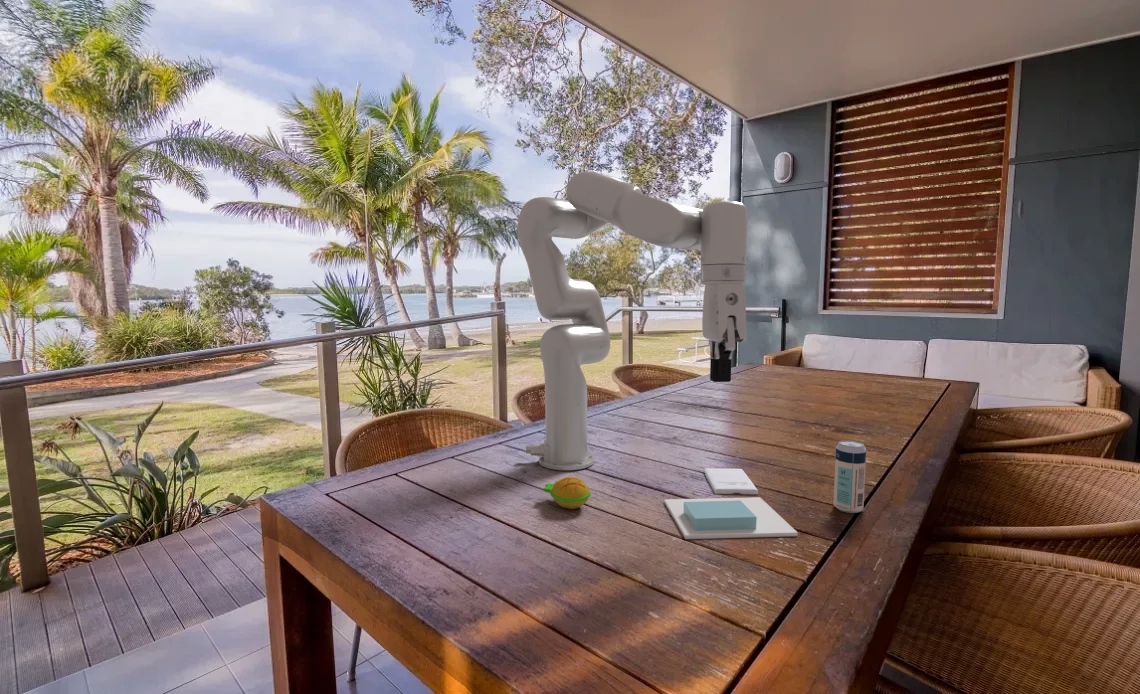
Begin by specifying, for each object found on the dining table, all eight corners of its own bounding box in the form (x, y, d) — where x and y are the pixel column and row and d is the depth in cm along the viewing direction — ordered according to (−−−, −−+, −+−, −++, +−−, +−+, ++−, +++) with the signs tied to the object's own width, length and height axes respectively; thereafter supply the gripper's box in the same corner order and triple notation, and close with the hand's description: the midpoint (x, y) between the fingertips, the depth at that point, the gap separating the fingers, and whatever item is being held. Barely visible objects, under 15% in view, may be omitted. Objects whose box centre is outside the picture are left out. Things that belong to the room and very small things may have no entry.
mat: (685, 539, 85) (685, 535, 85) (664, 502, 100) (664, 499, 100) (797, 536, 86) (797, 532, 86) (759, 500, 101) (759, 497, 101)
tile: (683, 513, 94) (695, 530, 87) (683, 501, 93) (695, 518, 86) (740, 511, 94) (756, 528, 87) (740, 500, 94) (756, 516, 87)
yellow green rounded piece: (568, 518, 93) (568, 488, 92) (536, 501, 101) (535, 473, 100) (598, 509, 97) (598, 480, 97) (565, 492, 105) (565, 466, 105)
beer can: (860, 505, 98) (864, 441, 97) (865, 516, 93) (869, 448, 92) (831, 502, 100) (834, 438, 98) (835, 512, 95) (838, 445, 94)
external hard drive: (742, 476, 116) (758, 497, 104) (703, 475, 117) (714, 496, 104) (742, 468, 116) (758, 488, 104) (703, 467, 117) (714, 488, 104)
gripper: (761, 274, 86) (758, 388, 88) (729, 277, 101) (727, 374, 103) (715, 274, 86) (712, 388, 88) (689, 277, 101) (687, 375, 102)
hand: (720, 381), depth 95 cm, fingers closed
